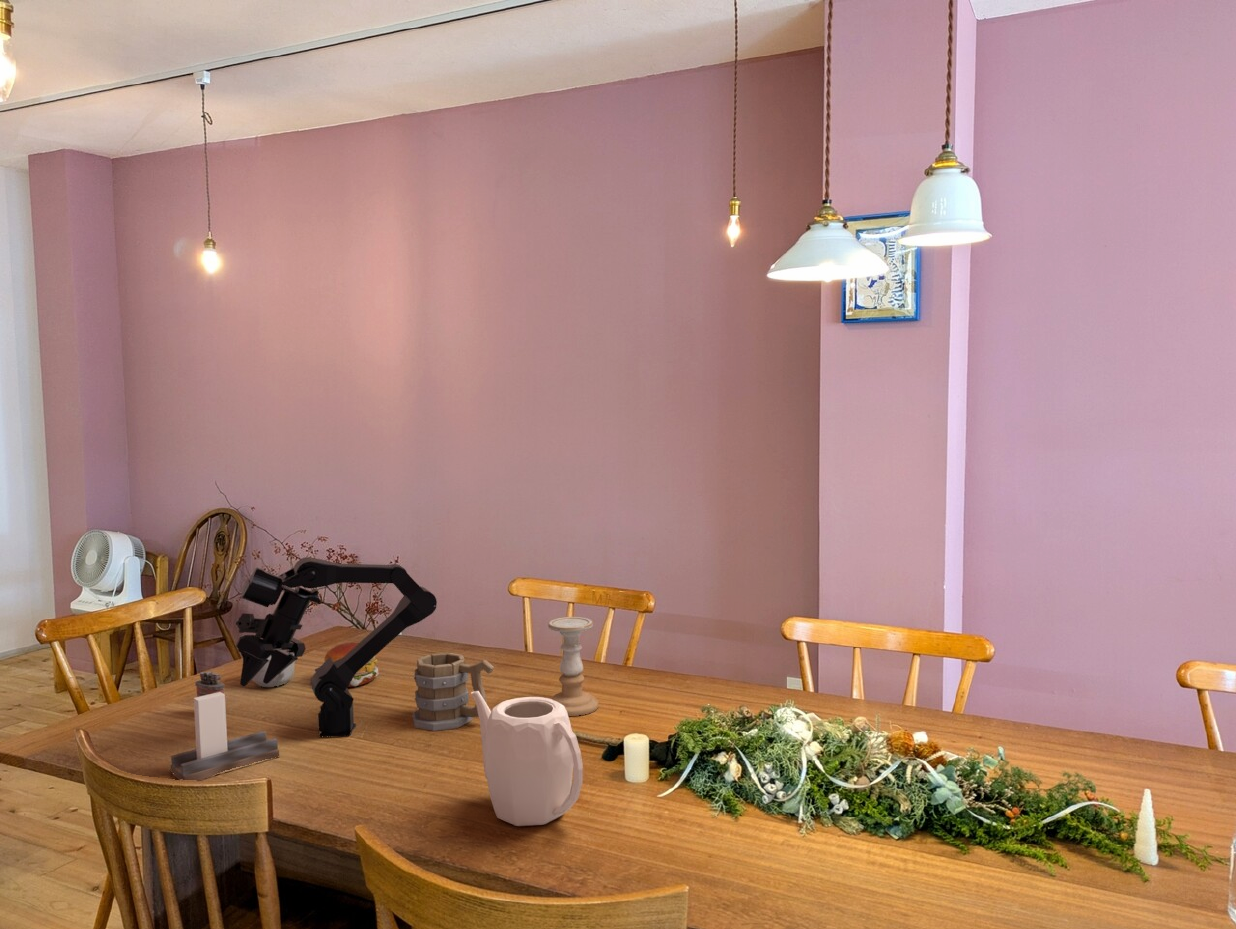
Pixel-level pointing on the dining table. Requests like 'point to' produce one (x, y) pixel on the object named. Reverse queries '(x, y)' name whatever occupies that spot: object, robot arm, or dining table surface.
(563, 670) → the candle holder
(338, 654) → the burger
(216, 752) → the door panel
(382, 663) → the dining table surface
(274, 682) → the teacup
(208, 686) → the lighter
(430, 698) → the tankard
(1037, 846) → the dining table surface
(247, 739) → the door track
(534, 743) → the watering can
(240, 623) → the robot arm
